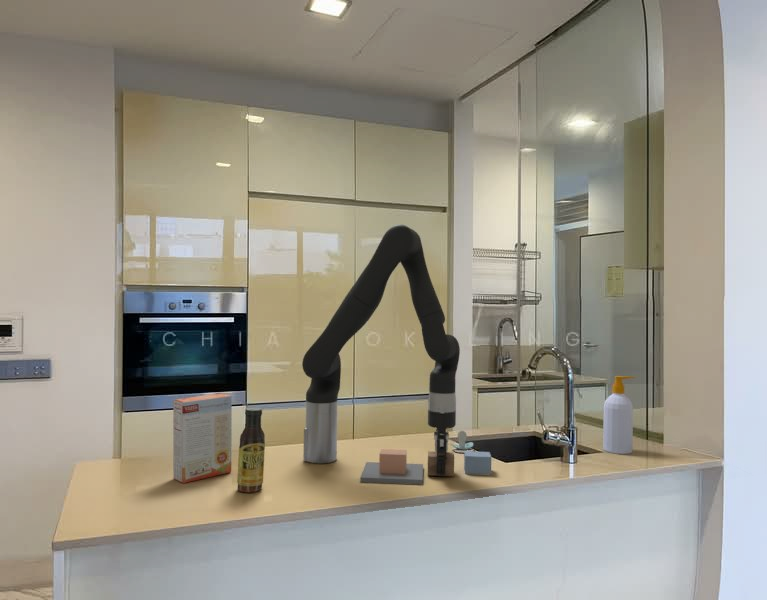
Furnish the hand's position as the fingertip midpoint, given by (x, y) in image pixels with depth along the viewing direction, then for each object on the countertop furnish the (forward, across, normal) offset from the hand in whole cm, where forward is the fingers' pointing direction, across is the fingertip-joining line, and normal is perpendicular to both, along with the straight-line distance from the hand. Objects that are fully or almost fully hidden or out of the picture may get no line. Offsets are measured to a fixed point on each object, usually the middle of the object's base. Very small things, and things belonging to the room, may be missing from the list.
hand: (440, 470), depth 152 cm
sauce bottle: (+1, +18, -47) cm, 50 cm away
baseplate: (+1, +2, -13) cm, 13 cm away
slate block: (+1, -4, +10) cm, 11 cm away
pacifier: (+1, -25, +7) cm, 26 cm away
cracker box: (+2, +9, -63) cm, 63 cm away
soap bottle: (+1, -32, +57) cm, 66 cm away
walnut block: (0, 0, 0) cm, 0 cm away
